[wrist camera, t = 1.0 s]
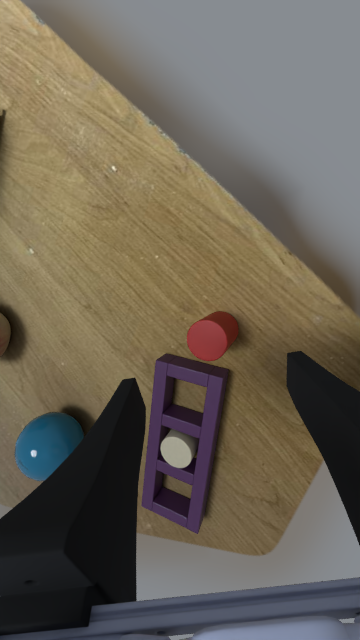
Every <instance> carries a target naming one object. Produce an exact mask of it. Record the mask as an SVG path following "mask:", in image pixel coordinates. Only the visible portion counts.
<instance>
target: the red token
mask: <svg viewBox="0 0 360 640" xmlns="http://www.w3.org/2000/svg"><path fill="white" fill-rule="evenodd" d="M237 335H238V324H237V322H236V320H235V319H234V317H233V316H231V315H230V314H228V313H226V312H222V311H218V312H214V313H212V314H210V315H208V316H206V317H205V318H203V319H201V320H199V321H197V322H196V323H194V324H193V325H192V326H191V327H190V329H189V331H188V334H187V343H188V347H189V349H190V351H191V352H192V353H193V354H194V355H195V356H196V357H197V358H199V359H201V360H205V361H213V360H217V359H218V358H220V357H221V356H222V355H223V354H224V353H225V352H226V351H227V349H228V348H229V347H230V346H231V344H232V343H233V342H234V341H235V339H236V338H237Z"/></svg>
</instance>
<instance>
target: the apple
mask: <svg viewBox="0 0 360 640" xmlns="http://www.w3.org/2000/svg"><path fill="white" fill-rule="evenodd" d="M10 335H11V329H10V324H9V322H8V320H7V319H6V317H5V316H4V315H2V314H1V313H0V357H1V356H2V354H3V353H4V352H5V350H6V349H7V347H8V344H9V340H10Z"/></svg>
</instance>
